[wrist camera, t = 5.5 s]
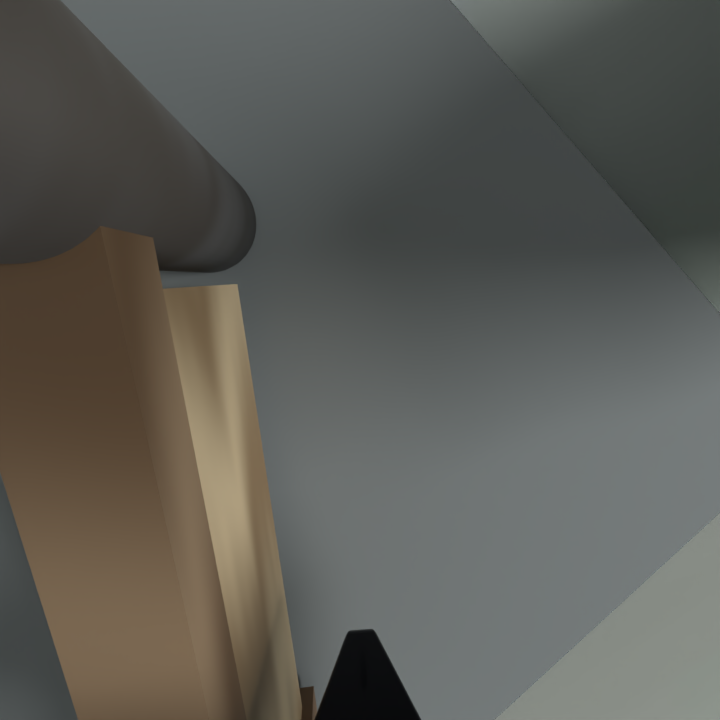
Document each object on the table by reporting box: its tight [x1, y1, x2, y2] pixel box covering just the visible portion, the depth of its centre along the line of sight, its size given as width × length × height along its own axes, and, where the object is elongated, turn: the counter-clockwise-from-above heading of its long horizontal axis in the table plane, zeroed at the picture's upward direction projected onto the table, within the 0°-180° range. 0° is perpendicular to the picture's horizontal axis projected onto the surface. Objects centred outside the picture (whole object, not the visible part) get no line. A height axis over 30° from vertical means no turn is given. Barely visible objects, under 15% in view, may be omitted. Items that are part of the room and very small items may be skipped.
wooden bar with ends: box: [0, 0, 317, 720], centre depth 7 cm, size 16×2×6 cm, turn 5°
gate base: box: [0, 0, 720, 720], centre depth 8 cm, size 24×21×7 cm
